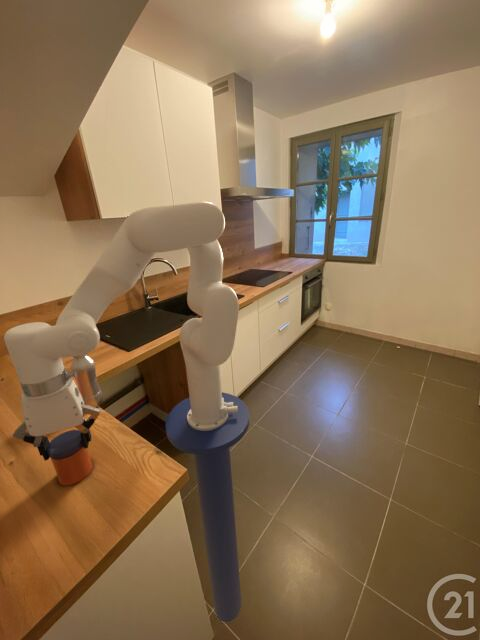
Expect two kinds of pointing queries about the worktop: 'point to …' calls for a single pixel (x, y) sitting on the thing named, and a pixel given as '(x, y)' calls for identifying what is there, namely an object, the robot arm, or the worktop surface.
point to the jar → (73, 467)
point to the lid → (65, 444)
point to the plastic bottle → (87, 380)
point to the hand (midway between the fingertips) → (68, 449)
